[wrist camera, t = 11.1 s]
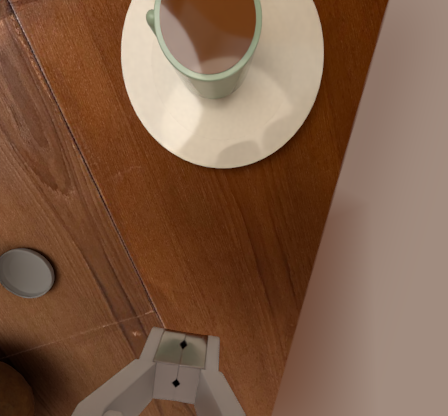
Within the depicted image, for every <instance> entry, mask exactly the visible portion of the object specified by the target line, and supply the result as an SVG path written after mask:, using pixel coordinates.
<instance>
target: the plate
mask: <svg viewBox="0 0 448 416" xmlns="http://www.w3.org/2000/svg"><path fill="white" fill-rule="evenodd" d="M260 3H261V8H262V28H261V34H260V38H259V42H258V45H257V48H256V51H255V54H254V57H253V60H252V63H251V66H250V69H249V72H248V74H247V77H246V78H245V80H244V82H243V83H242V85H241V86H240V87H239V88H238V89H237V90H236V91H235V92H233V93H232V94H230V95H228V96H226V97H223V98H220V99H206V98H203V97H200V96H198V95H196V94H194V93H192V92H191V91H190V90H189V89H188V88H187V87H186V86H185V85H184V84H183V82H182V81H181V80H180V78H179V77H178V75H177V73H176V72H175V70H174V69H173V67H172V66H171V64H170V63H169V61H168V60H167V58H166V57H165V55H164V53H163V51H162V50H161V48H160V45H159V43H158V40H157V38H156V36H155V35H154V33H153V31H152V30H151V28H150V27H149V25H148V23H147V21H146V14H147V12H148V11H149V10H151V9H154V5H155V0H132V1H131V4H130V7H129V9H128V12H127V15H126V19H125V23H124V27H123V33H122V42H121V63H122V72H123V78H124V82H125V86H126V90H127V93H128V96H129V99H130V101H131V104H132V106H133V108H134V110H135V112H136V114H137V116H138V117H139V119H140V121H141V122H142V124H143V125H144V127H145V128H146V129H147V130H148V132H149V133H150V134H151V135H152V136H153V137H154V138H155V139H156V140H157V141H158V142H159V143H160V144H161V145H162V146H163V147H165V148H166V149H167V150H169V151H170V152H171V153H173V154H174V155H176V156H178V157H180V158H182V159H183V160H186V161H188V162H191V163H193V164H197V165H201V166H204V167H211V168H234V167H241V166H245V165H248V164H252V163H254V162H257V161H259V160H261V159H264V158H265V157H267V156H269V155H271V154H272V153H274V152H275V151H277V150H278V149H279V148H281V147H282V146H283V145H284V144H285V143H286V142H287V141H288V140H289V139H290V138H291V137H292V136H293V135H294V134H295V133H296V132H297V130H298V129H299V128H300V127H301V125H302V124H303V122H304V121H305V119H306V117H307V116H308V114H309V112H310V110H311V108H312V106H313V104H314V101H315V99H316V96H317V93H318V90H319V86H320V82H321V77H322V71H323V61H324V45H323V36H322V28H321V24H320V20H319V16H318V13H317V10H316V8H315V5H314V3H313V0H260Z"/></svg>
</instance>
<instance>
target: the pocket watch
mask: <svg viewBox="0 0 448 416" xmlns="http://www.w3.org/2000/svg"><path fill="white" fill-rule="evenodd" d="M0 283H1V284H2V285H3V286H4V287H5V288H6V289H7V290H8V291H10V292H12V293H13V294H15V295H18V296H21V297H24V298H36V297H40V296H42V295H44V294H45V293H46V292H48V291H49V290H50V289H51V287H52V285H53V283H54V271H53V268H52V266H51V264H50V263H49V262H48V260H47V259H46V258H45V257H43V256H42V255H41V254H39V253H37V252H35V251H33V250H30V249H25V248H17V249H12V250H10V251H8V252H6V253H4V254H2V255H1V256H0Z"/></svg>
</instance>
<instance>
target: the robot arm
mask: <svg viewBox="0 0 448 416" xmlns="http://www.w3.org/2000/svg"><path fill="white" fill-rule="evenodd" d="M219 344H220V338H219V337H216V336H209V335H201V334H194V333H188V332H181V331H175V330H170V329H163V328H158V327H153V328H152V330H151V332H150V334H149V337H148V339H147V341H146V344H145V346H144V349H143V351H142V353H141V356H140V358H139V360H138V359H135V360H134V361H132V362H131V363H130V364H128V365H127V366H126V367H125V368H123V369H122V370H121V371H120V372H118V373H117V374H116V375H114V376H113V377H112V378H111V379H109V380H108V381H107V382H105V383H104V384H103V385H102V386H100V387H99V388H98V389H96V390H95V391H94V392H93V393H91V394H90V395H89V396H87V397H86V398H85V399H84V400H82V401H81V402H80V403H79V404H78V405H77V407H76V408H75V410H74V412H73V413H72V415H71V416H138V415H139V414H140V413H141V412H142V411H143V409H144V408H145V407H146V406H147V405H148V404H149V402H150V401H151V400H152V398H156V399H165V400H174V401H179V402H184V403H190V404H194V407H195V410H196V413H197V416H246V414H245V413H244V411H243V409H242V407H241V406H240V404H239V402H238V400H237V398H236V397H235V395H234V393H233V391H232V390H231V388H230V386H229V384H228V382H227V381H226V379H225V377H224V375H223V373H222V372H218V369H219Z"/></svg>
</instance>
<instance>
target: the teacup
mask: <svg viewBox="0 0 448 416" xmlns="http://www.w3.org/2000/svg"><path fill="white" fill-rule="evenodd" d="M146 21H147V23H148V25H149V27H150V28H151V30H152V31H153V33H154V35H155V36H156V38H157V40H158V43H159V45H160V48H161V50H162V51H163V53H164V55H165V57H166V58H167V60H168V61H169V63H170V64H171V66H172V67H173V69H174V70H175V72H176V73H177V75H178V77H179V78H180V80H181V81H182V82H183V84H184V85H185V86H186V87H187V88H188V89H189V90H190V91H191V92H192V93H194V94H196V95H198V96H200V97H203V98H206V99H220V98H223V97H226V96H228V95H230V94H232V93H233V92H235V91H236V90H237V89H238V88H239V87H240V86H241V85H242V83H243V82H244V80H245V78H246V77H247V74H248V72H249V69H250V66H251V63H252V60H253V57H254V54H255V51H256V48H257V45H258V42H259V38H260V34H261V28H262V8H261V3H260V0H155V5H154V9H151V10H149V11H148V12H147V14H146Z"/></svg>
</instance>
